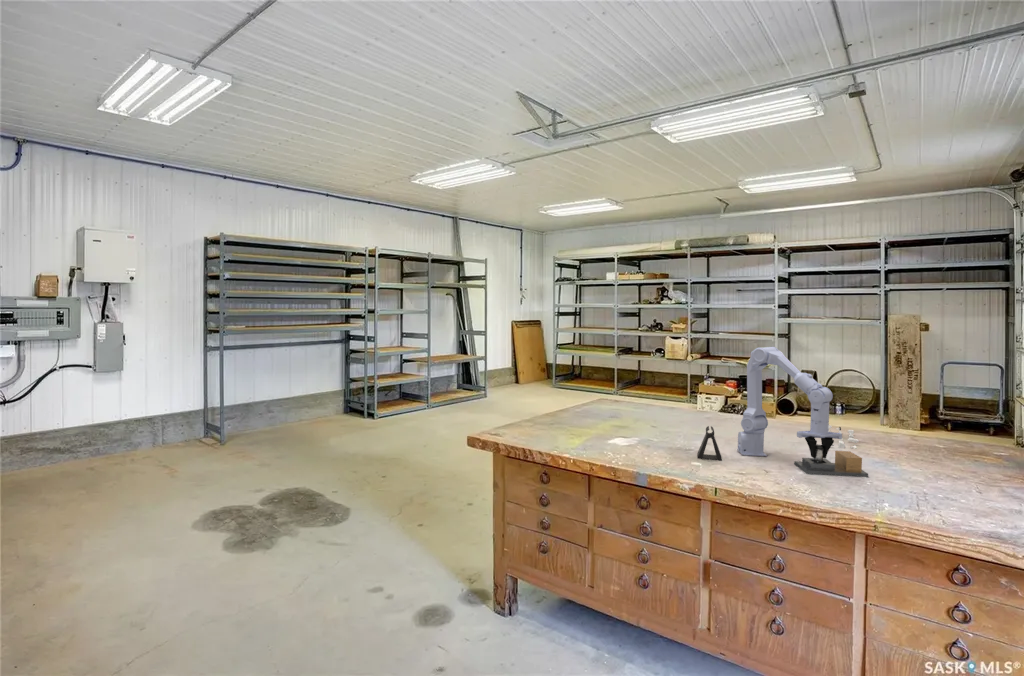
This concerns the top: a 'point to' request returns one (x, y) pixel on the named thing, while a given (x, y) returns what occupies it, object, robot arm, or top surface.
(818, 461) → the shiny metal cylinder
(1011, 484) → the top surface
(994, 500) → the top surface
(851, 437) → the miniature set
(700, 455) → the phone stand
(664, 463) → the top surface
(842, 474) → the square socket plate
